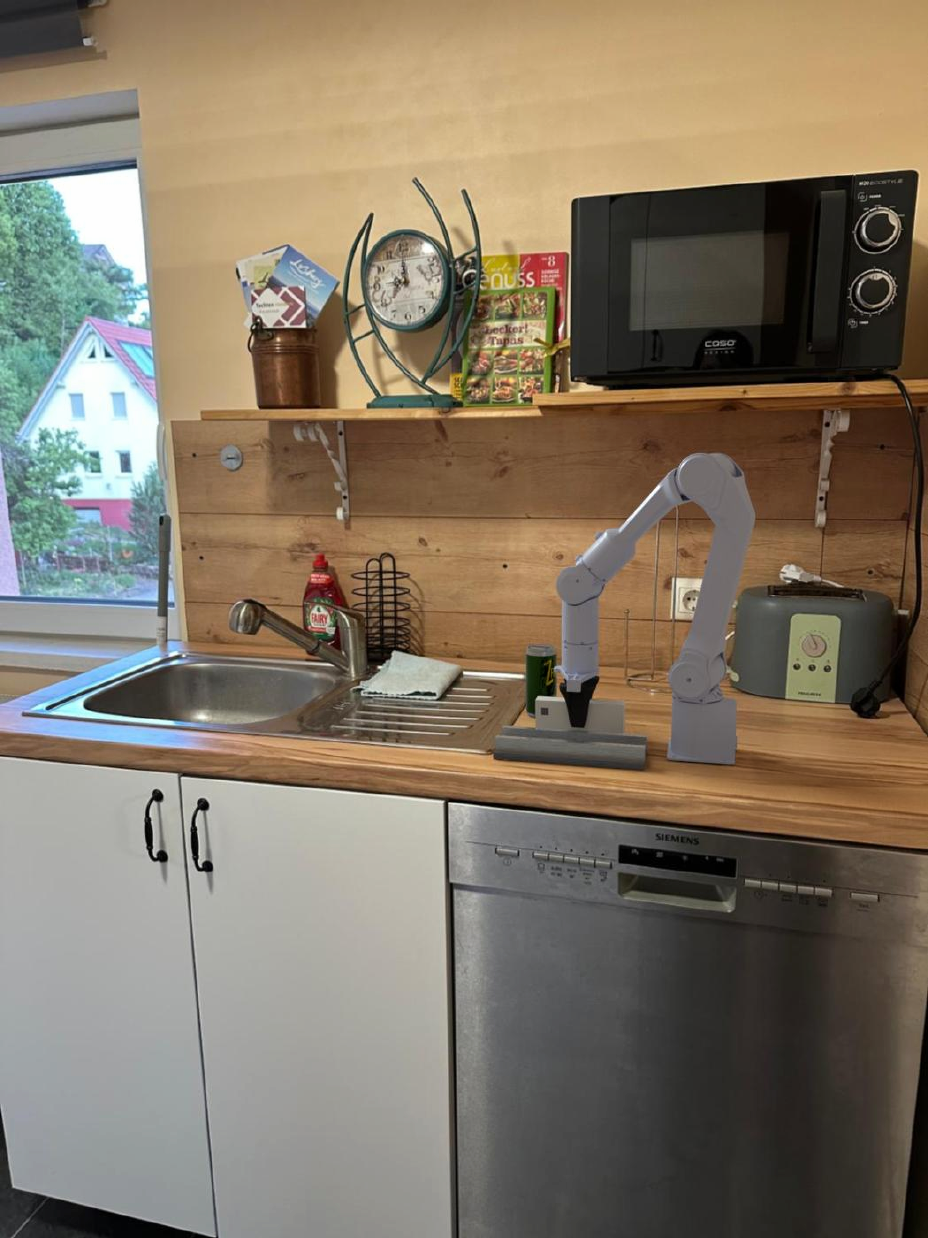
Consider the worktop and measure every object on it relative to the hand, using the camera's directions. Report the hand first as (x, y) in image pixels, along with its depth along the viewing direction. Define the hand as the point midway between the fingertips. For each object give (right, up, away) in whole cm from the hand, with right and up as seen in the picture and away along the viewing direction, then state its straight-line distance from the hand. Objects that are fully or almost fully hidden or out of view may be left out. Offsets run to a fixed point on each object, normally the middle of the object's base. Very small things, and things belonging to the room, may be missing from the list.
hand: (579, 723), depth 133 cm
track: (-3, -4, -9) cm, 10 cm away
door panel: (0, -2, 0) cm, 2 cm away
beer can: (-5, 0, +12) cm, 13 cm away
